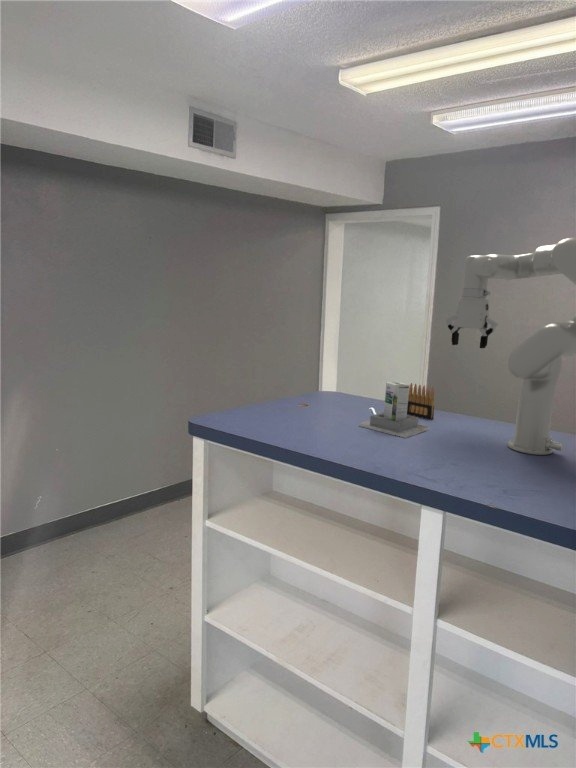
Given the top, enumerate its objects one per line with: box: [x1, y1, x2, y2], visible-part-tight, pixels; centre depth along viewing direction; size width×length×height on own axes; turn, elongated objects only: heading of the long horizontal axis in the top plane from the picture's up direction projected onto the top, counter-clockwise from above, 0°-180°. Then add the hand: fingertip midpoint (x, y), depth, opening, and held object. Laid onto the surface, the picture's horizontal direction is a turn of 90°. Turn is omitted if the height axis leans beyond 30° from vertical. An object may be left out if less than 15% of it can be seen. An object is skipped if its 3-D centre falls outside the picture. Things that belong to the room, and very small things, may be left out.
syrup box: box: [383, 380, 410, 421], centre depth 178 cm, size 6×6×14 cm
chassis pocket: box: [358, 411, 430, 439], centre depth 179 cm, size 18×15×4 cm
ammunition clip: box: [407, 382, 435, 420], centre depth 196 cm, size 11×2×12 cm, turn 46°
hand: (468, 346), depth 177 cm, fingers open, 9 cm apart
